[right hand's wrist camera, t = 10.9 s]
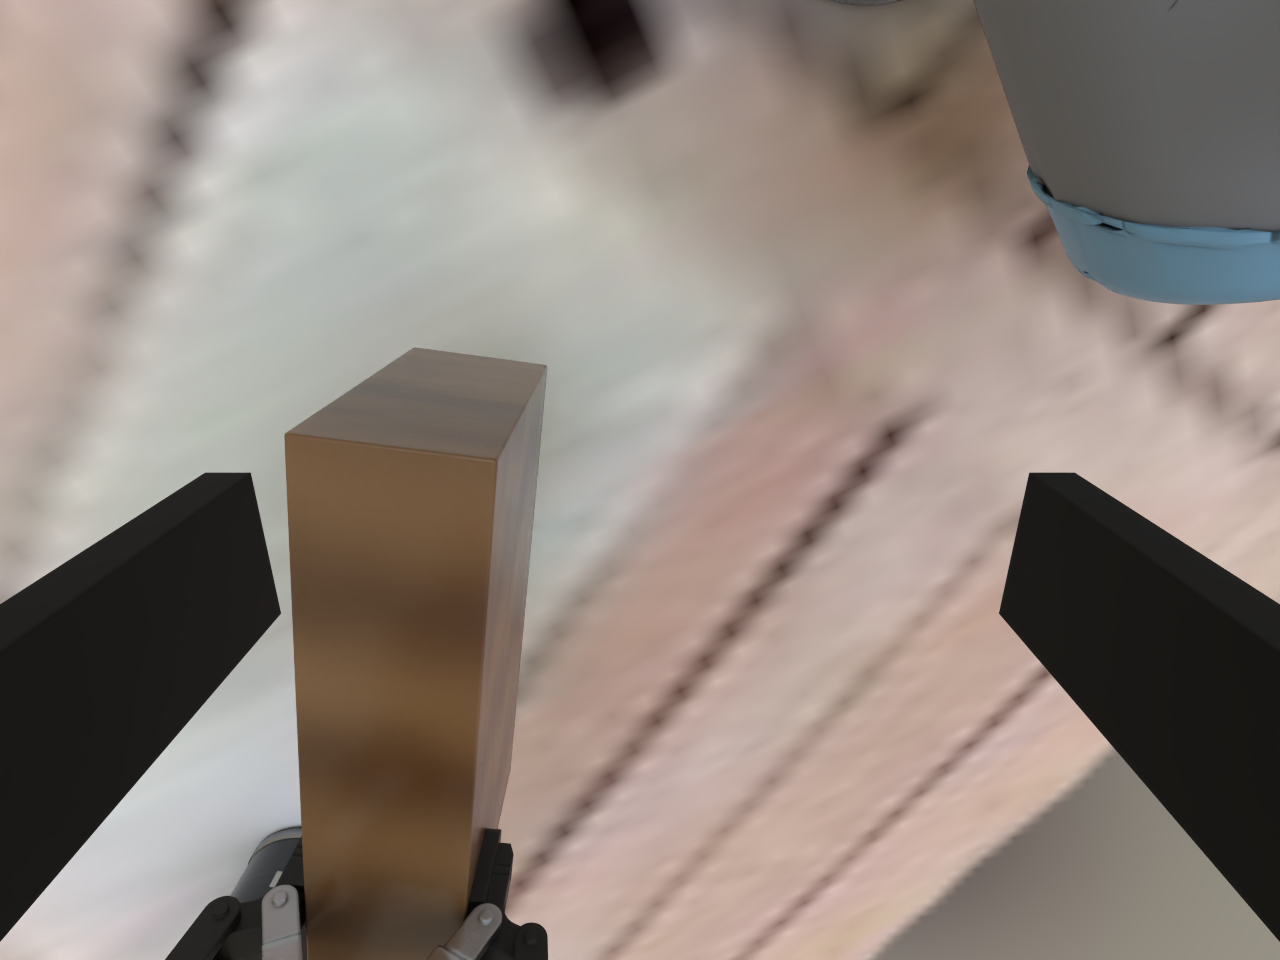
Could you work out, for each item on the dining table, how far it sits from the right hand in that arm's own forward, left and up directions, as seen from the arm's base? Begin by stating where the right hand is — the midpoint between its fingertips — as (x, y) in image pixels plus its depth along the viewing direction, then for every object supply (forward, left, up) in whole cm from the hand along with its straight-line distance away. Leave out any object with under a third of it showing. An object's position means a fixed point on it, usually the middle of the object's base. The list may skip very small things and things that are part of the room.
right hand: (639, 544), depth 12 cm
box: (+14, +7, -21) cm, 26 cm away
